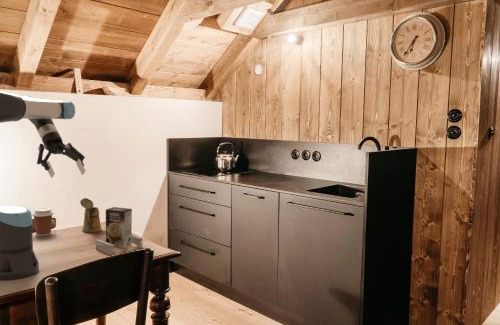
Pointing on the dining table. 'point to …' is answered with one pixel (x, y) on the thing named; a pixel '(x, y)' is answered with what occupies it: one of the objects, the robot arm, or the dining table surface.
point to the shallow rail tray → (112, 250)
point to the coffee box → (119, 227)
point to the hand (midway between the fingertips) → (68, 174)
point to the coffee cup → (43, 221)
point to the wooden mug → (90, 217)
